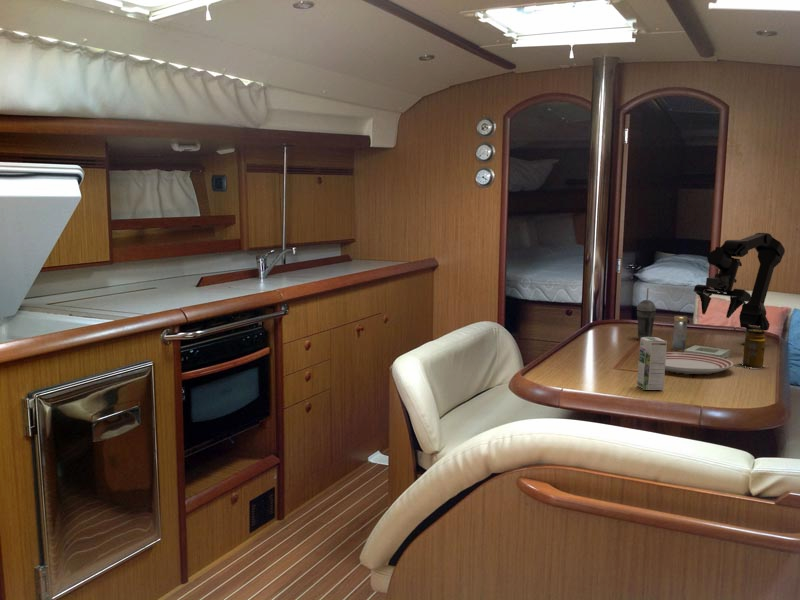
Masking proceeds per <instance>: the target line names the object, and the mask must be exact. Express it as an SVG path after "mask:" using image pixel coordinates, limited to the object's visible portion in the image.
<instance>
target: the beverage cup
mask: <svg viewBox="0 0 800 600" xmlns="http://www.w3.org/2000/svg"><path fill="white" fill-rule="evenodd" d="M649 289H650V288H646V299H644V300H641V301H640V302H639V303H638V305H637V307H636V316H637V336H638V337H637V338H638V340H637V341H639V340H640V339H641V338H642V337H653V336H652V335H653V330H654V323H655V317H656V314H657V313H656V312H657V307H656V304H655V303H654V302H653V301H651V300H649Z"/></svg>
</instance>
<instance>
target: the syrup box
mask: <svg viewBox="0 0 800 600" xmlns="http://www.w3.org/2000/svg"><path fill="white" fill-rule="evenodd" d="M639 342H640V343H639V352H638V353H639V354H638V355H639V356H638V364H637V380H636V386H639V387H641V388H643V389H644V390H663V391H664V386H665V374H666V371H665V362H666V352H667V347H668V346H667V345H668V341H667V340H664V339H661V338H660V337H654V336H652V337H642V338H641V339H640V341H639ZM639 387H638V388H639ZM641 388H640V389H641ZM643 389H642V390H643ZM644 390H643V391H644Z"/></svg>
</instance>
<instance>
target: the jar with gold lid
mask: <svg viewBox="0 0 800 600" xmlns="http://www.w3.org/2000/svg"><path fill="white" fill-rule="evenodd" d="M687 327H688V316H686V315H674V318H673V334H672V348H671V349H672V351H673V350H674V351H676V350H685V349H686V342H687V331H688V328H687Z"/></svg>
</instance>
